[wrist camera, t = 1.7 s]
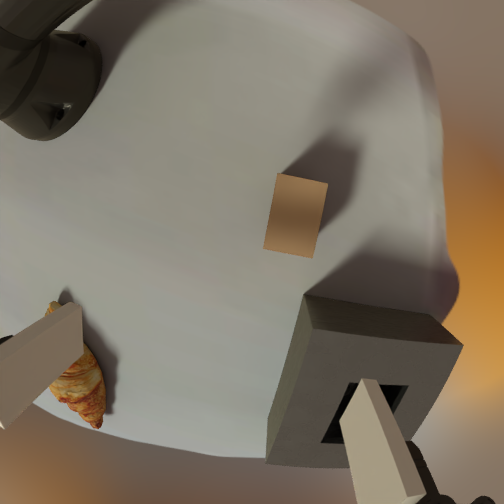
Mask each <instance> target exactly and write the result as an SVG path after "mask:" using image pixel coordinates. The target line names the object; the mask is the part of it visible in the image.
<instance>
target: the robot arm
mask: <svg viewBox="0 0 504 504" xmlns="http://www.w3.org/2000/svg"><path fill="white" fill-rule="evenodd" d="M91 1H92V0H0V120H1V121H3V122H4V123H5V124H7V125H8V126H10V127H11V128H12V129H14V130H15V131H16V132H18V133H19V134H21V135H22V136H24V137H26V138H28V139H32V140H39V141H48V140H52V139H55V138H57V137H59V136H61V135H62V134H64V133H65V132H66V131H68V130H69V129H70V128H71V127H72V126H73V125H74V124H75V123H76V122H77V121H78V120H79V118H80V117H81V116H82V115H83V113H84V112H85V110H86V109H87V107H88V105H89V104H90V102H91V100H92V98H93V96H94V94H95V92H96V89H97V87H98V84H99V80H100V76H101V71H102V56H101V52H100V49H99V47H98V46H97V44H96V43H95V42H93V41H92V40H91V39H89V38H88V37H86V36H85V35H83V34H80V33H76V32H68V31H60V30H54V29H56V28H57V27H58V26H59V25H60V24H61V23H63V22H64V21H65V20H66V19H68V18H69V17H70V16H72V15H73V14H74V13H75V12H77V11H78V10H80V9H81V8H82V7H84V6H85V5H86V4H88V3H89V2H91ZM83 354H84V349H83V331H82V306H80V305H77V304H75V303H73V302H68V303H66V304H65V305H63V306H61V307H60V308H58V309H56V310H55V311H53V312H52V313H50V314H48V315H47V316H45V317H43V318H42V319H40V320H38V321H37V322H35V323H34V324H32V325H30V326H29V327H27V328H26V329H24V330H23V331H21V332H19V333H18V334H16V335H15V336H13V335H10V336H6V337H3V338H1V339H0V426H1V427H2V428H3V429H6V428H7V427H8V426H9V425H10V424H11V423H12V422H13V421H14V420H15V419H16V418H17V417H18V416H19V415H20V414H21V413H22V411H24V410H25V409H26V408H27V407H28V406H29V405H30V404H31V403H32V402H33V401H34V400H35V399H36V398H37V397H38V396H39V395H40V394H41V393H42V392H43V391H44V390H45V389H47V388H48V387H49V386H50V385H51V384H52V383H53V382H54V381H55V380H56V379H57V378H58V377H59V376H60V375H61V374H62V373H63V372H65V371H66V370H67V369H68V368H69V367H70V366H71V365H72V364H73V363H74V362H75V361H76V360H78V359H79V358H80V357H81V356H82V355H83ZM339 422H340V426H341V430H342V434H343V439H344V443H345V447H346V452H347V456H348V461H349V465H350V470H351V474H352V479H353V484H354V489H355V493H356V498H357V503H358V504H456V503H455V502H454V500H453V499H452V498H450V497H449V496H446V495H440V494H439V492H438V490H437V487H436V485H435V482H434V480H433V478H432V476H431V473H430V471H429V469H428V467H427V464H426V462H425V460H423V456H422V454H421V451H420V450H419V448H418V447H417V446H416V445H415V444H414V443H413V442H412V441H405V440H404V438H403V436H402V434H401V431H400V429H399V427H398V425H397V423H396V420H395V418H394V416H393V414H392V412H391V410H390V407H389V405H388V403H387V401H386V399H385V397H384V395H383V393H382V391H381V388H380V386H379V384H378V382H377V380H373V379H364V378H362V379H361V381H360V383H359V385H358V387H357V389H356V391H355V393H354V395H353V397H352V399H351V401H350V402H349V404H348V406H347V408H346V410H345V412H344V413H343V415H342V417H341V419H340V421H339ZM471 504H495V502H494V501H493V500H492V499H491V498H490V497H487V496H480V497H478V498H476V499H475V500H474V501H473V502H472V503H471Z"/></svg>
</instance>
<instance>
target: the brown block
mask: <svg viewBox="0 0 504 504" xmlns="http://www.w3.org/2000/svg"><path fill="white" fill-rule="evenodd" d="M327 187H328V184H327V183H323V182H318V181H314V180H309V179H304V178H300V177H295V176H290V175H285V174H280V173H277V178H276V184H275V189H274V194H273V200H272V205H271V210H270V215H269V220H268V226H267V231H266V236H265V241H264V246H263V249H267V250H272V251H277V252H282V253H288V254H293V255H298V256H303V257H308V258H313V254H314V250H315V245H316V241H317V236H318V232H319V227H320V222H321V217H322V213H323V208H324V203H325V198H326V192H327Z"/></svg>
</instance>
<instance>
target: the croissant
mask: <svg viewBox="0 0 504 504" xmlns="http://www.w3.org/2000/svg"><path fill="white" fill-rule="evenodd" d="M60 307H61V305H60V304H59V303H58V302H56V301H53V302H51V303H50V304H49V308H48V309H47V313H45V316H47V315H48V314H50V313H52V312H53V311H55V310H56V309H58V308H60ZM83 349H84V354H83V355H82V356H81V357H80V358H79V359H78V360H76V361H75V362H74V363H73V364H72V365H71V366H70V367H69V368H68V369H67V370H66V371H65V372H63V373H62V374H61V375H60V376H59V377H58V378H57V379H56V380H55V381H54V382H53V383H52V384H51V385H50V386H49V388H50V390H51V392H52V393H53V395H54V396H55V397H56V398H57V399H58V400H59V402H63V403H67V405H68V407H69V408H70V409H71V410H73V411H75V412H78V413H79V415H80V416H81V417H82V419H83V420H85V421H86V422H88V423H90V424H91V426H92V427H93V428H96V429H99V428H100V427H101V426H102V423H103V414H104V412H105V410H106V399H105V398H106V396H105V395H106V388H105V384H104V381H103V376H102V372H101V369H100V367H99V365H98V363H97V361H96V359H95V357H94V356H93V354H92V353H91V351H90V350H89V348H88V347H87V346H86V344H84V343H83Z"/></svg>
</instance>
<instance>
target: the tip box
mask: <svg viewBox="0 0 504 504" xmlns="http://www.w3.org/2000/svg"><path fill="white" fill-rule="evenodd" d="M462 348H463V344H462V343H461V342H460V341H459V340H457V339H456V338H455V337H454V336H453V335H452V334H451V333H450V332H449V331H448V330H446V329H445V328H444V327H443V326H442V325H441V324H440V323H439V322H438V321H436V320H435V319H434V318H433V317H432V316H431V315H428V314H421V313H415V312H408V311H401V310H395V309H388V308H382V307H376V306H369V305H363V304H357V303H351V302H345V301H339V300H334V299H328V298H322V297H317V296H311V295H306V294H303V298H302V302H301V306H300V310H299V314H298V318H297V321H296V325H295V329H294V333H293V336H292V340H291V343H290V347H289V351H288V354H287V358H286V361H285V364H284V368H283V371H282V375H281V378H280V381H279V385H278V388H277V391H276V394H275V398H274V401H273V404H272V407H271V410H270V413H269V416H268V424H267V443H266V461H265V463H266V464H273V465H282V466H294V467H310V468H350V465H349V461H348V456H347V452H346V447H345V443H344V439H343V434H342V430H341V426H340V422H339V421H340V419H341V417H342V415H343V413H344V412H345V410H346V408H347V406H348V404H349V402H350V401H351V399H352V397H353V395H354V393H355V391H356V389H357V387H358V385H359V383H360V381H361V379H362V378H364V379H373V380H377V382H378V384H379V386H380V388H381V391H382V393H383V395H384V397H385V399H386V401H387V403H388V405H389V407H390V410H391V412H392V414H393V416H394V418H395V420H396V423H397V425H398V427H399V429H400V431H401V434H402V436H403V438H404V440H405V441H410V440H411V439H412V437H413V436H414V434H415V433H416V431H417V430H418V428H419V427H420V425H421V424H422V422H423V421H424V419H425V417H426V416H427V414H428V412H429V411H430V409H431V408H432V406H433V404H434V403H435V401H436V399H437V397H438V396H439V394H440V392H441V390H442V388H443V387H444V385H445V383H446V381H447V379H448V377H449V375H450V373H451V371H452V369H453V367H454V365H455V363H456V361H457V359H458V357H459V354H460V352H461V350H462Z"/></svg>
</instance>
